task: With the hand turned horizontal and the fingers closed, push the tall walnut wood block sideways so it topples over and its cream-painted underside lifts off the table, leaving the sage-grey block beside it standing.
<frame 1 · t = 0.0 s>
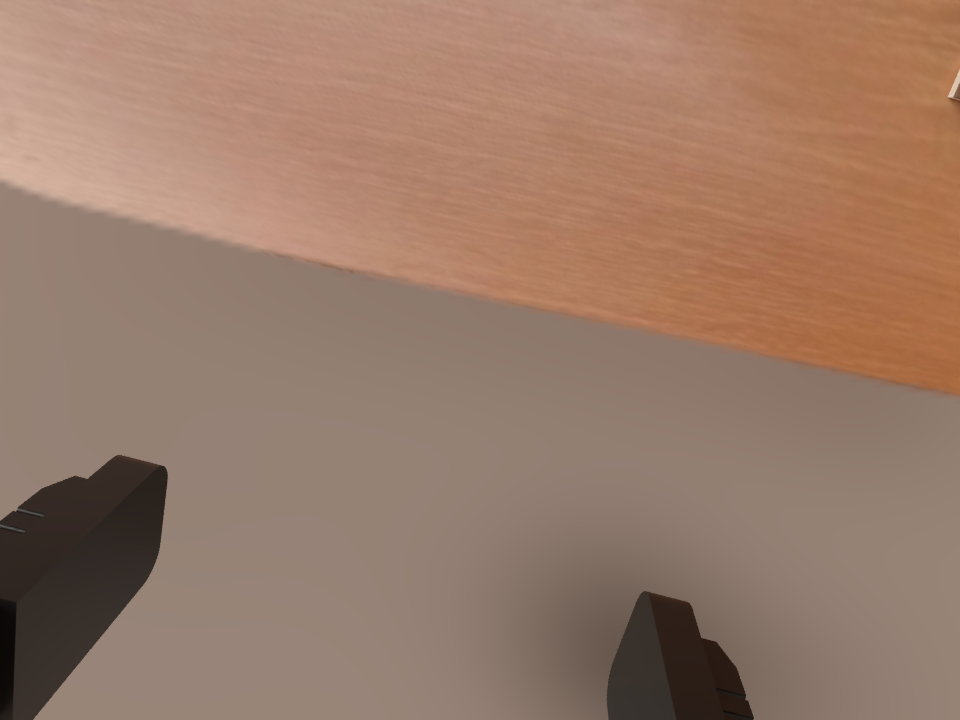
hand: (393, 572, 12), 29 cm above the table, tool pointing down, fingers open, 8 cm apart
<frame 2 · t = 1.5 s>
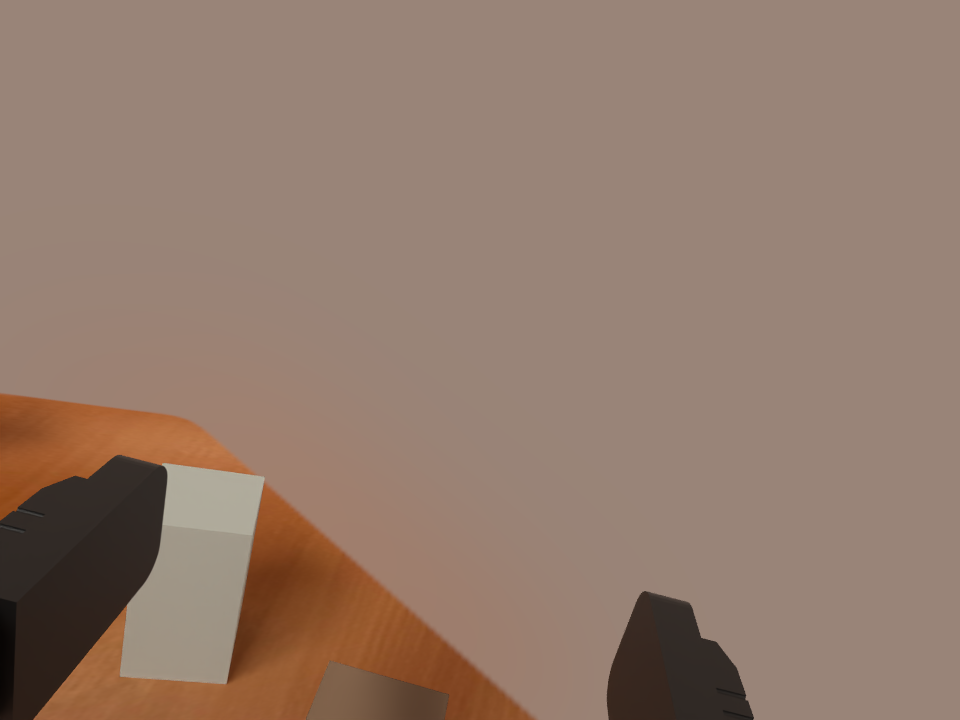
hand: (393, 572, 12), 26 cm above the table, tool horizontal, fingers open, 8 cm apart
grey block: (184, 642, 43), on the table
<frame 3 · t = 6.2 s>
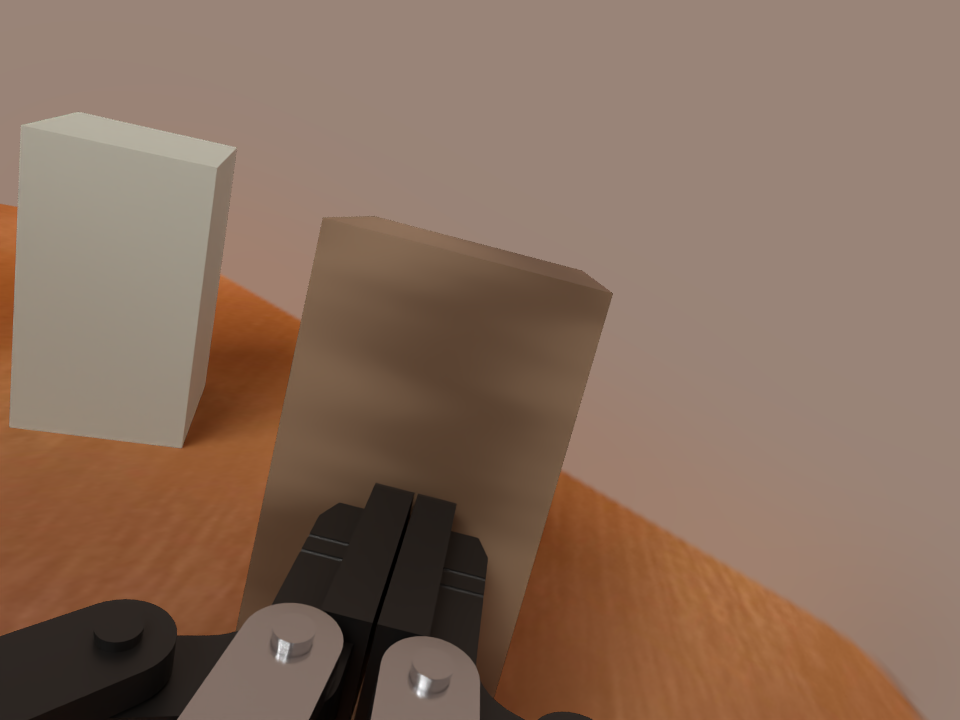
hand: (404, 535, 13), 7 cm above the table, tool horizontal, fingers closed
walnut wood block: (355, 718, 17), on the table, tilted 8°, touching gripper
grey block: (118, 404, 28), on the table
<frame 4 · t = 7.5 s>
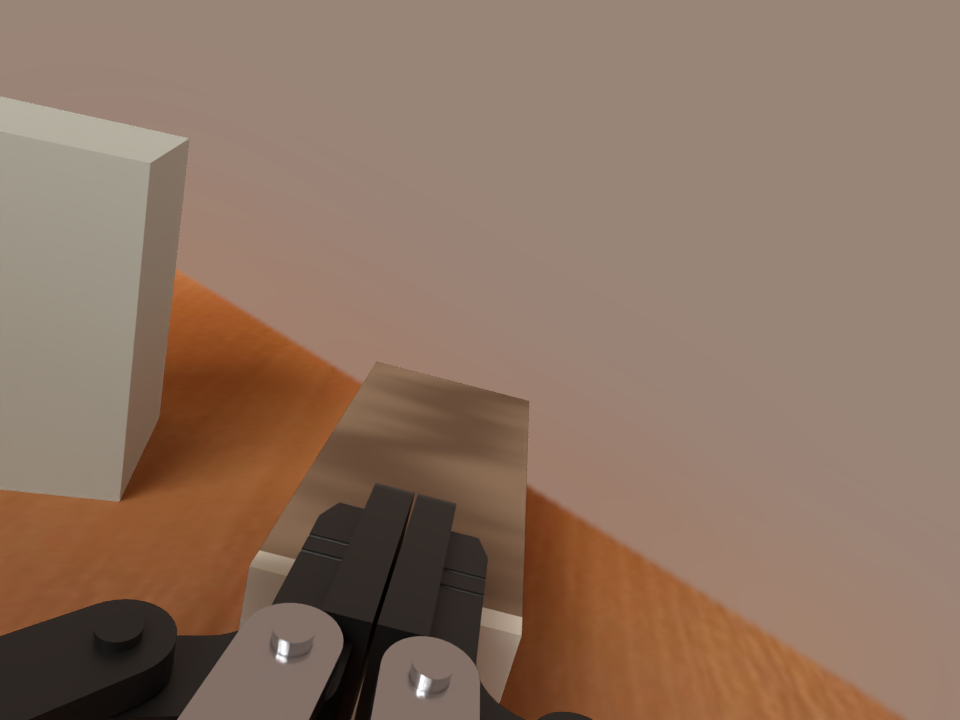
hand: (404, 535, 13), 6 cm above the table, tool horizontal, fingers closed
walnut wood block: (359, 706, 14), point 2 cm above the table, tilted 90°, touching gripper
grey block: (49, 444, 24), on the table
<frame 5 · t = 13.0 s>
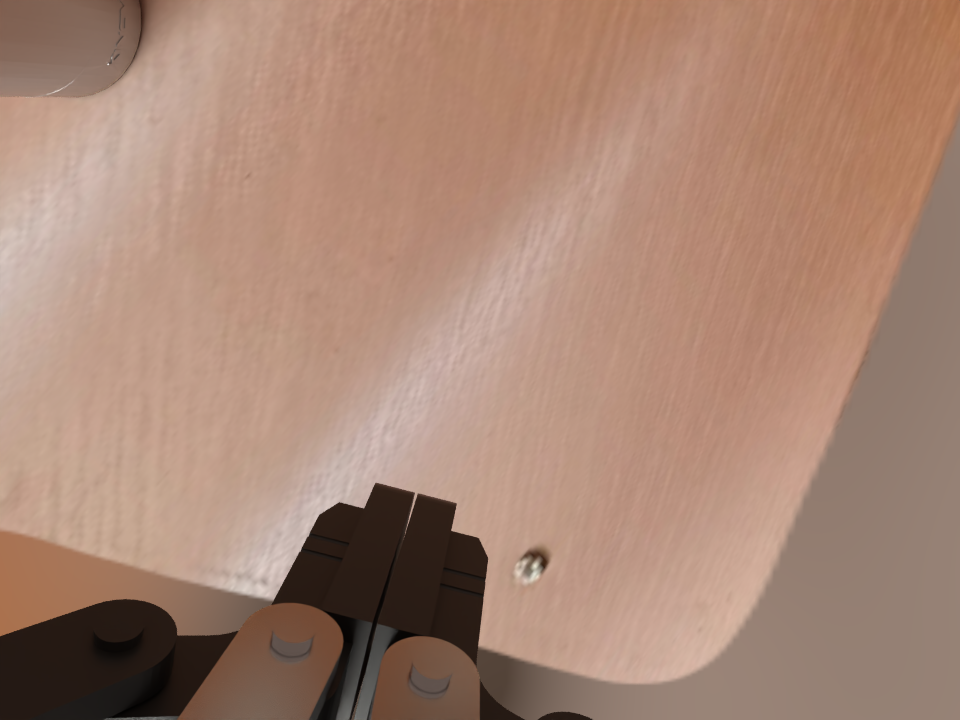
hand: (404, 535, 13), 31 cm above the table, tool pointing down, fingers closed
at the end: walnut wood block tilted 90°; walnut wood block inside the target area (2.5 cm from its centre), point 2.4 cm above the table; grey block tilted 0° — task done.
